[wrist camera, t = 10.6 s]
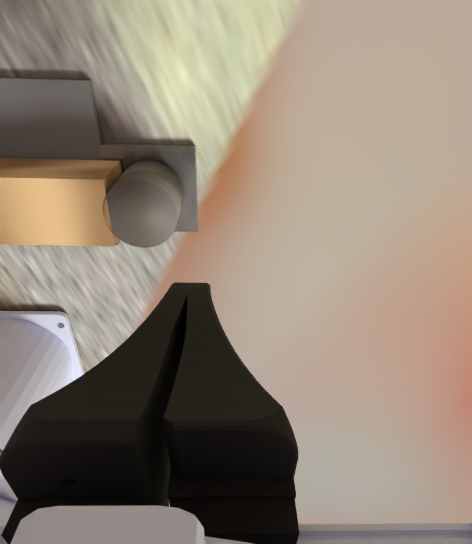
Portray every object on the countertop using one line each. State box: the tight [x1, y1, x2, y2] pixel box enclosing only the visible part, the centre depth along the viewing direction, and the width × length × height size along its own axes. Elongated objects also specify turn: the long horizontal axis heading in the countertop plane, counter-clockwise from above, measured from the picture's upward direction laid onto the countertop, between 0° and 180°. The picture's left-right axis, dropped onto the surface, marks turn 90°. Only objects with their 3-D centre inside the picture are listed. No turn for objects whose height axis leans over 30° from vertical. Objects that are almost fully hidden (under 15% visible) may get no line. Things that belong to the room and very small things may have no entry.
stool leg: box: [0, 158, 184, 248], centre depth 18 cm, size 16×4×3 cm, turn 88°
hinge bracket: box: [100, 143, 198, 232], centre depth 20 cm, size 5×5×1 cm
